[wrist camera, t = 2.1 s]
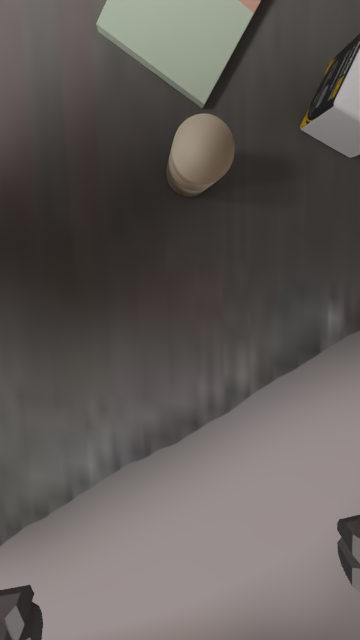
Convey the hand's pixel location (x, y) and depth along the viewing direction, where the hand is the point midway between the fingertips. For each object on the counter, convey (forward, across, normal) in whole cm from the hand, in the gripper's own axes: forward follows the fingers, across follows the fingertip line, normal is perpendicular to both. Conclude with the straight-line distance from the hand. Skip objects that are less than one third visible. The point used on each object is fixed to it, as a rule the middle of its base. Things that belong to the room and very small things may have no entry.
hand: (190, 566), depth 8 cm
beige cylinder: (+31, -6, -14) cm, 35 cm away
